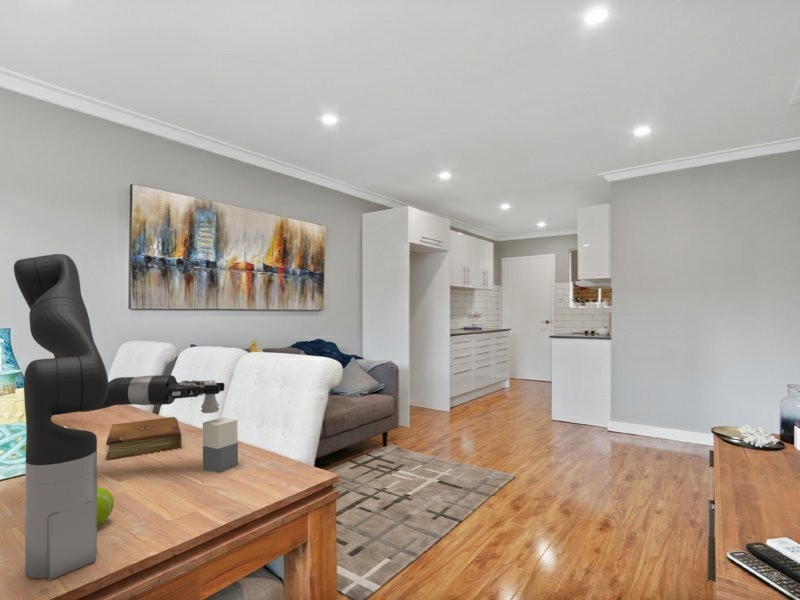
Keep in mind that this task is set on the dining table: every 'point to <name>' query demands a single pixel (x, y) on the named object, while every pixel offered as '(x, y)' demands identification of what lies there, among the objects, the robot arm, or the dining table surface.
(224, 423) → the tower top
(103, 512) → the tennis ball
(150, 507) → the dining table surface
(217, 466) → the tower base
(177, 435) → the diary
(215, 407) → the rook chess piece
